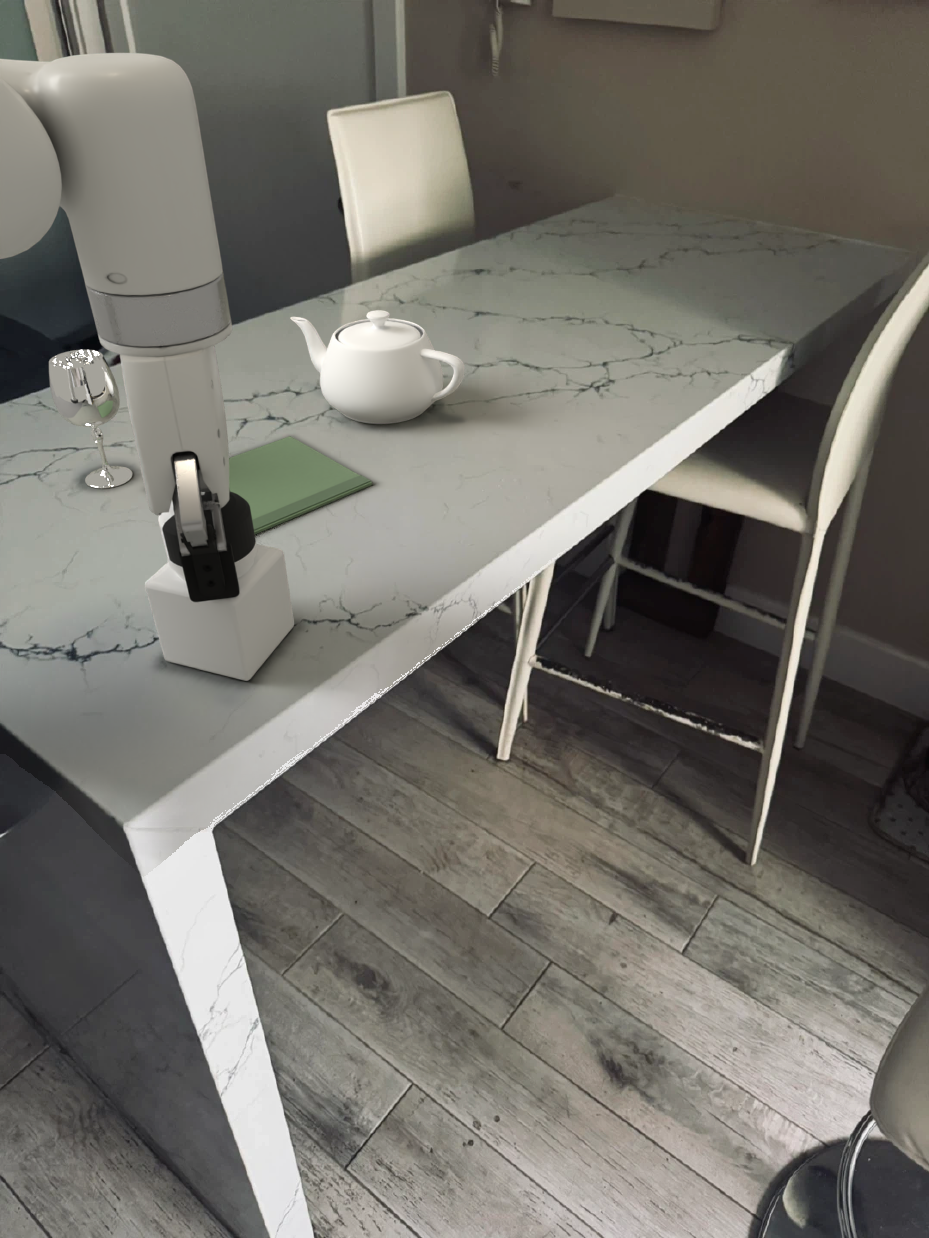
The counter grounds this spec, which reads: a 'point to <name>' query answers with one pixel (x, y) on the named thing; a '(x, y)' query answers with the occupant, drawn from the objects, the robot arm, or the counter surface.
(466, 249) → the counter surface
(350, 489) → the napkin
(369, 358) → the teapot
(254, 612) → the medicine bottle
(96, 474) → the wineglass
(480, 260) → the counter surface
